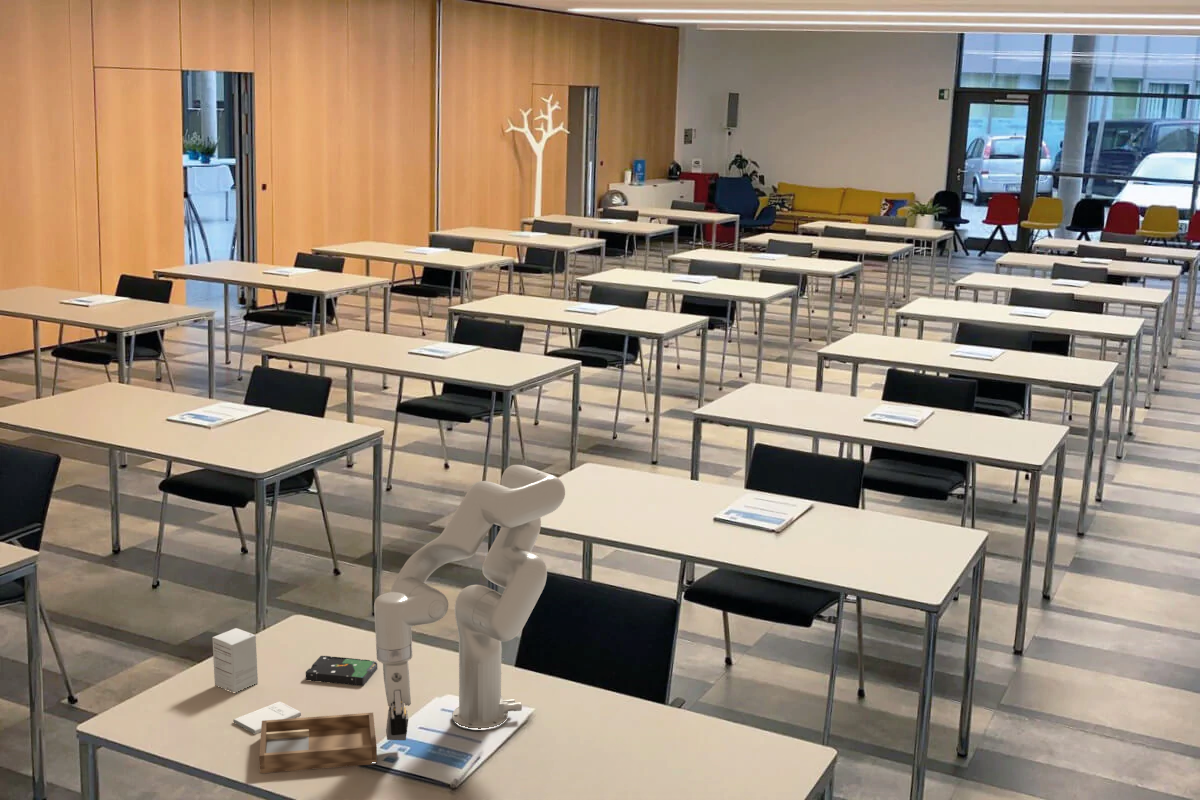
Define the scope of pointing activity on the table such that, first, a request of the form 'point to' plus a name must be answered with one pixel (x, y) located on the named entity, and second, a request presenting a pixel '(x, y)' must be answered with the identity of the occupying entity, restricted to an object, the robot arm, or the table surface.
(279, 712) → the external hard drive
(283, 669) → the table surface
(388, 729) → the block
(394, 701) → the robot arm
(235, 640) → the supplement box
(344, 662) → the disk drive
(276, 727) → the crate
